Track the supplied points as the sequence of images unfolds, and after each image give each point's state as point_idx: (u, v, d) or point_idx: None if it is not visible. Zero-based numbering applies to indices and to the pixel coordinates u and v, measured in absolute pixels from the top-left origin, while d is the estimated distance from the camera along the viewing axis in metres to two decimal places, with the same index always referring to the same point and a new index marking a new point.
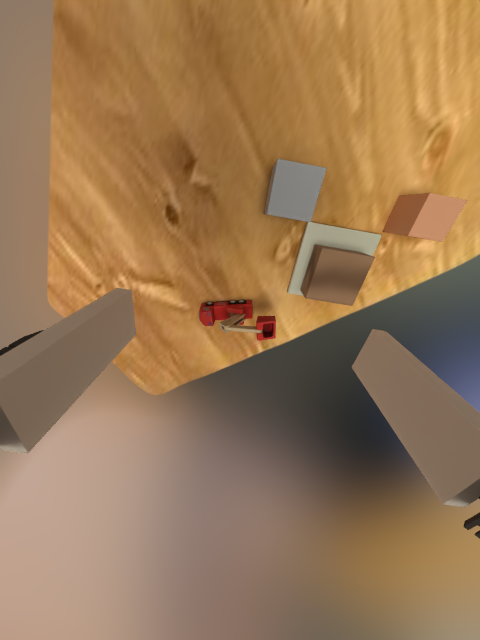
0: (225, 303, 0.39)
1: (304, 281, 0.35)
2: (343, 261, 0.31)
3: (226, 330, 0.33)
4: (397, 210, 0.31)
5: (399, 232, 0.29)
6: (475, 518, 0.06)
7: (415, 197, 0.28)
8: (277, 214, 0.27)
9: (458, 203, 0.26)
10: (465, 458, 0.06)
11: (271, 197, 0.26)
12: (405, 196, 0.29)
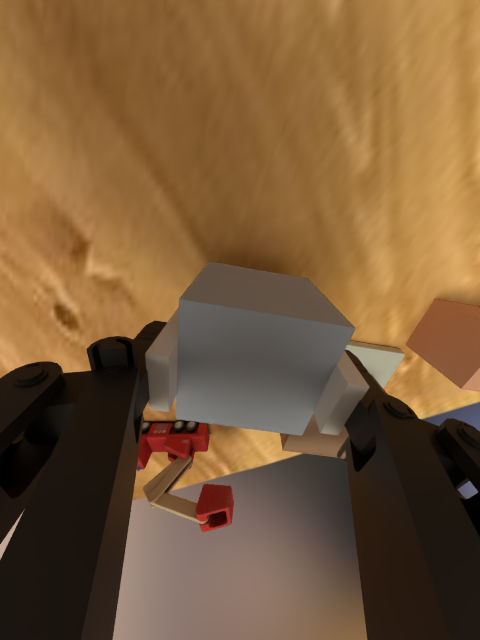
0: (166, 429, 0.26)
1: None
2: None
3: (152, 505, 0.20)
4: (433, 323, 0.18)
5: (440, 369, 0.17)
6: (342, 447, 0.08)
7: (473, 321, 0.15)
8: (205, 420, 0.09)
9: None
10: (332, 392, 0.08)
11: (180, 388, 0.08)
12: (449, 307, 0.17)
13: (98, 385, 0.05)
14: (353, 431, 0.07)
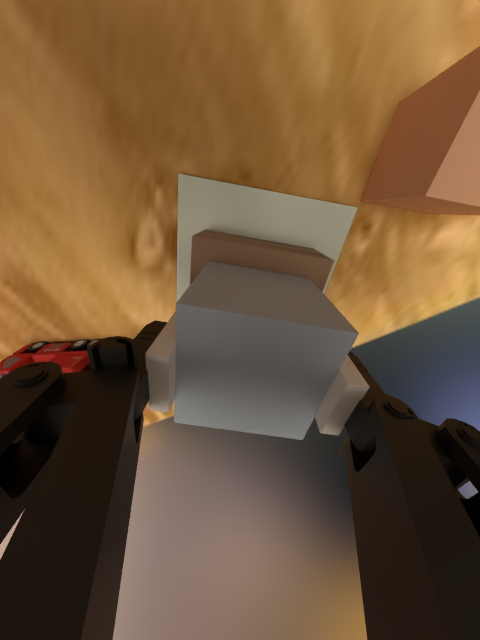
0: (61, 348, 0.20)
1: None
2: None
3: None
4: (394, 138, 0.12)
5: (399, 193, 0.11)
6: (342, 447, 0.08)
7: (450, 75, 0.09)
8: (204, 423, 0.09)
9: None
10: (331, 392, 0.08)
11: (178, 392, 0.08)
12: (416, 93, 0.11)
13: (98, 385, 0.05)
14: (353, 431, 0.07)
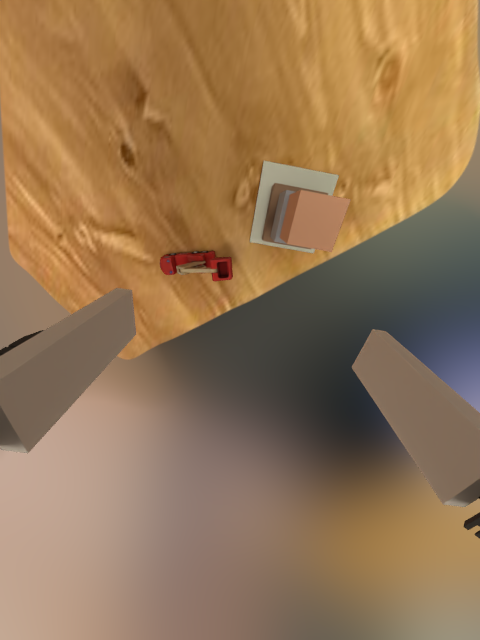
0: (187, 253, 0.38)
1: (264, 227, 0.35)
2: None
3: (182, 272, 0.33)
4: (287, 211, 0.25)
5: (284, 239, 0.24)
6: (475, 518, 0.06)
7: (295, 195, 0.22)
8: None
9: (340, 204, 0.20)
10: (465, 458, 0.06)
11: (279, 225, 0.27)
12: (291, 194, 0.24)
13: None
14: None
